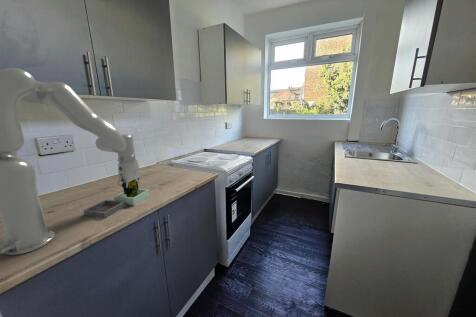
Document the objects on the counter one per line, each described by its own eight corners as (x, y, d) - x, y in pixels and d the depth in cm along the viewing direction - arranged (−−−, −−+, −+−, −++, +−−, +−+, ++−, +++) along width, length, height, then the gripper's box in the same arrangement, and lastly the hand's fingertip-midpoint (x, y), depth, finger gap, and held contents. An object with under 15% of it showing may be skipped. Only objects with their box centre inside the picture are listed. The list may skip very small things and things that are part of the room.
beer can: (124, 197, 104) (121, 176, 101) (133, 194, 108) (131, 173, 106) (130, 199, 101) (127, 177, 98) (140, 196, 106) (137, 174, 103)
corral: (105, 218, 87) (104, 213, 86) (84, 215, 90) (83, 210, 89) (125, 206, 98) (124, 201, 97) (106, 204, 101) (105, 199, 100)
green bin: (134, 205, 98) (133, 198, 97) (115, 203, 101) (114, 196, 100) (149, 196, 109) (148, 189, 108) (132, 194, 112) (131, 188, 111)
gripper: (119, 163, 91) (124, 199, 95) (144, 155, 107) (148, 186, 111) (106, 162, 93) (112, 197, 97) (133, 155, 109) (137, 185, 113)
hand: (131, 191), depth 104 cm, fingers closed on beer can, 5 cm apart
